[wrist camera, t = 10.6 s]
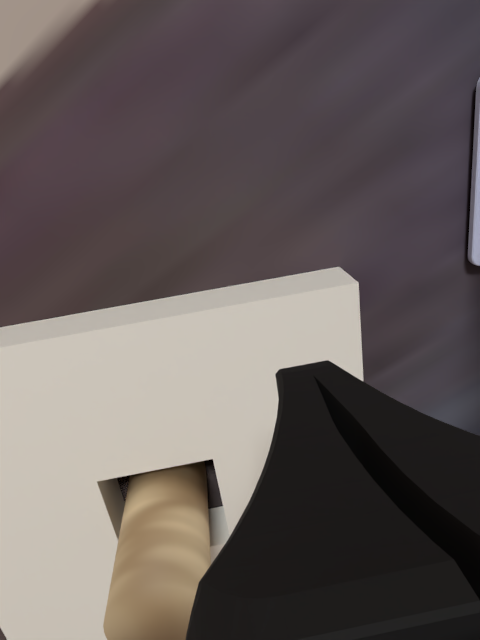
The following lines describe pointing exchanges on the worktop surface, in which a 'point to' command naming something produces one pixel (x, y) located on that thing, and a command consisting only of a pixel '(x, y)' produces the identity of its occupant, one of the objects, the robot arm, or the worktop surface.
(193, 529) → the maple dowel
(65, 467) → the holder board
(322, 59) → the worktop surface
